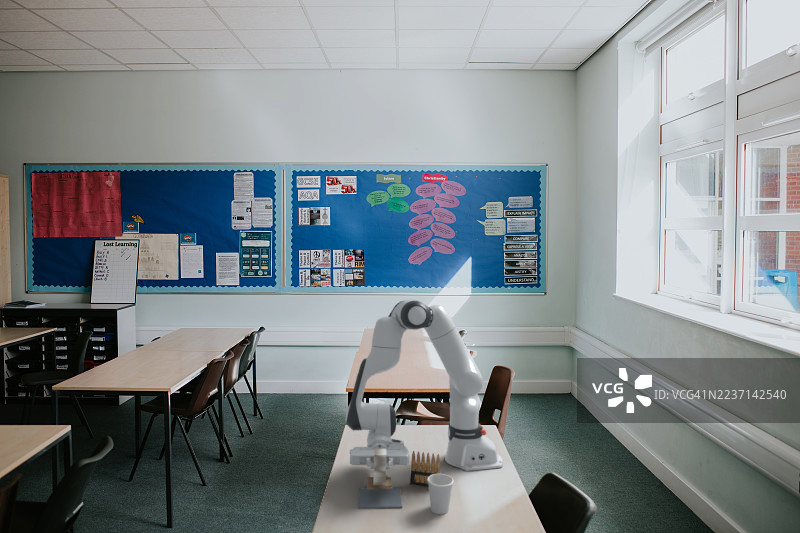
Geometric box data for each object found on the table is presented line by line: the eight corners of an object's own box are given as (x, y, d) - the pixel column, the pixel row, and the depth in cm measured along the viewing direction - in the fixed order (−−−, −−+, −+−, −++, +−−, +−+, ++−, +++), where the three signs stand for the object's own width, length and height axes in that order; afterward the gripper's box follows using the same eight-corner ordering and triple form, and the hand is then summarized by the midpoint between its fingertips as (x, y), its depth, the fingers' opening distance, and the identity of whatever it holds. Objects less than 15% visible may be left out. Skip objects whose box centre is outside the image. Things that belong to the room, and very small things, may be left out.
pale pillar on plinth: (391, 480, 175) (392, 448, 174) (391, 489, 169) (392, 455, 168) (367, 480, 174) (368, 447, 174) (367, 489, 168) (368, 455, 168)
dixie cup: (434, 518, 161) (434, 487, 160) (422, 505, 168) (422, 475, 168) (457, 513, 164) (458, 482, 163) (444, 500, 172) (445, 471, 171)
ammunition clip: (409, 484, 182) (410, 451, 182) (410, 482, 184) (411, 449, 183) (439, 489, 180) (440, 455, 179) (440, 486, 181) (441, 453, 181)
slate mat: (400, 489, 178) (400, 488, 178) (402, 508, 166) (402, 506, 166) (359, 490, 177) (359, 488, 177) (358, 508, 166) (358, 506, 165)
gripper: (350, 440, 183) (348, 457, 170) (407, 440, 184) (410, 457, 171) (349, 457, 184) (348, 476, 170) (407, 458, 185) (410, 476, 171)
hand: (379, 466), depth 170 cm, fingers closed on pale pillar on plinth, 4 cm apart
